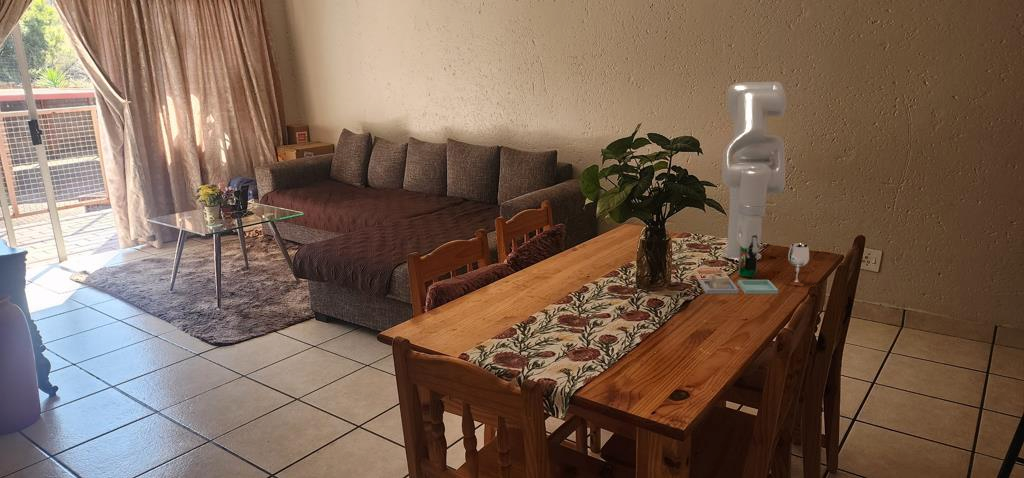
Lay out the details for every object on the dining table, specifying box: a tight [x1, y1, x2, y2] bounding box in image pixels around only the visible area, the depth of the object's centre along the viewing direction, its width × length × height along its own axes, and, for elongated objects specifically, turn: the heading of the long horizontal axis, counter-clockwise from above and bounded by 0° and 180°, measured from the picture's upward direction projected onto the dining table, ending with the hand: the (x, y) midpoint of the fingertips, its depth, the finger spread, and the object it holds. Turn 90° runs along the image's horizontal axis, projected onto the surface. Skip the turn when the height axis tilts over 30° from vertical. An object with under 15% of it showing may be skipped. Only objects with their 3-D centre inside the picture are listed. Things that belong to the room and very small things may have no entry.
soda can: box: [738, 244, 758, 278], centre depth 202 cm, size 5×5×12 cm
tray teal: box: [737, 279, 779, 295], centre depth 192 cm, size 9×9×2 cm
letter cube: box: [709, 273, 730, 289], centre depth 193 cm, size 4×4×4 cm
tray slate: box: [699, 279, 739, 295], centre depth 193 cm, size 9×9×2 cm
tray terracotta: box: [693, 269, 731, 284], centre depth 203 cm, size 9×9×2 cm
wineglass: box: [787, 242, 810, 282], centre depth 196 cm, size 6×6×12 cm
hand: (747, 266), depth 203 cm, fingers closed on soda can, 5 cm apart
